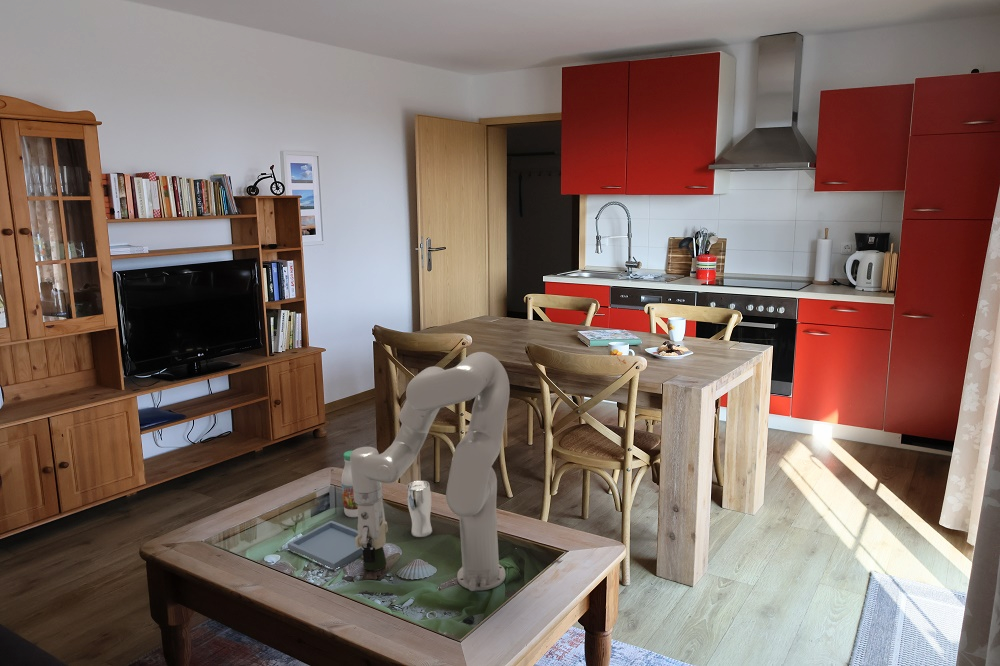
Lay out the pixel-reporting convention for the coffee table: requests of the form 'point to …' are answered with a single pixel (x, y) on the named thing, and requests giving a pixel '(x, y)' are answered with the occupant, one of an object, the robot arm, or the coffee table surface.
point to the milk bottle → (348, 488)
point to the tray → (329, 545)
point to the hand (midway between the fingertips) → (373, 553)
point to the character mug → (378, 548)
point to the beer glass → (419, 507)
